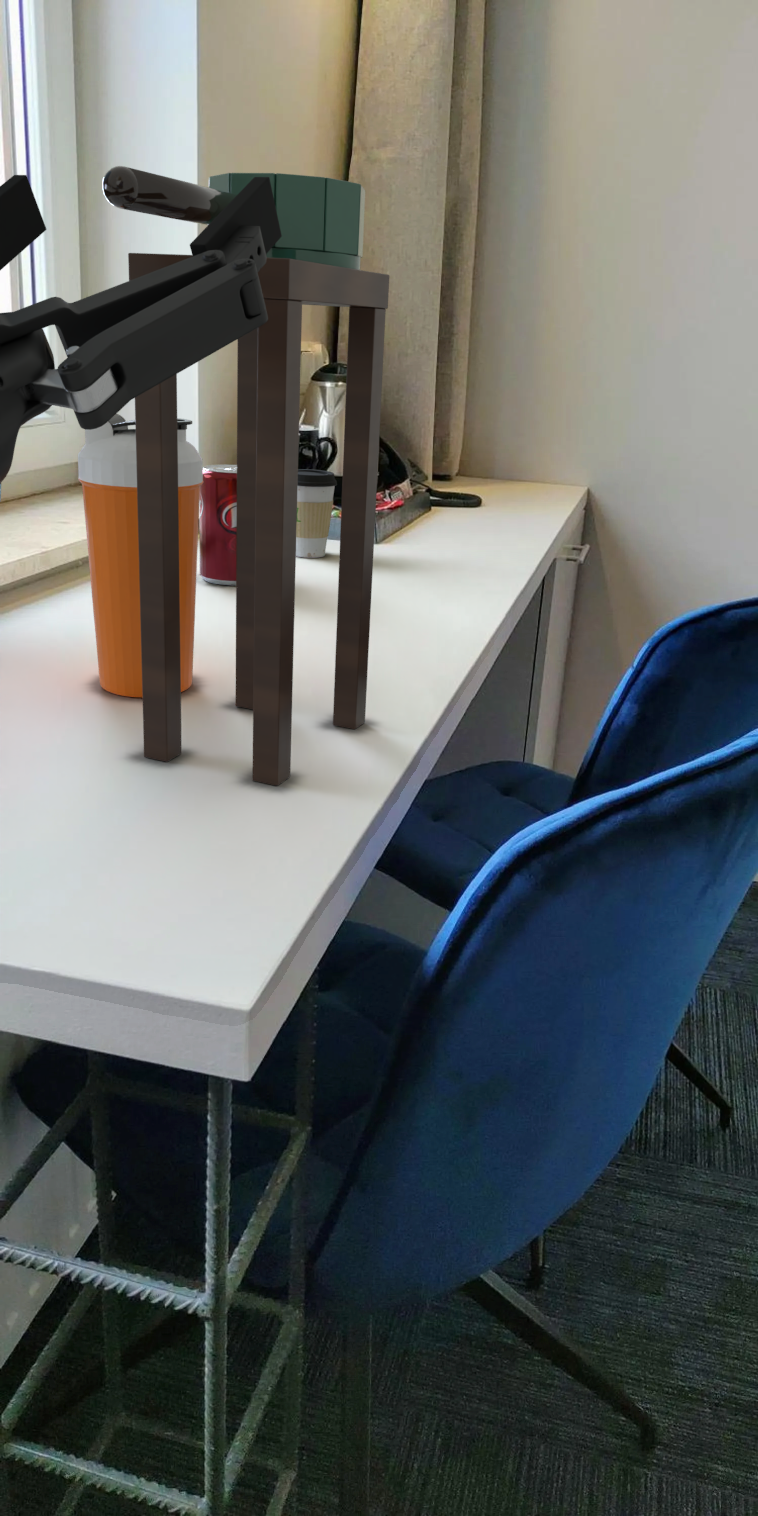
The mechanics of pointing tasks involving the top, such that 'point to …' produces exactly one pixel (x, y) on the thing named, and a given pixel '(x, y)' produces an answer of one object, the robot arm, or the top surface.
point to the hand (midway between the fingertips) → (144, 204)
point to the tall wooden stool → (265, 511)
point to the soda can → (218, 524)
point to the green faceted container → (308, 207)
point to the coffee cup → (313, 511)
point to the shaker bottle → (132, 550)
